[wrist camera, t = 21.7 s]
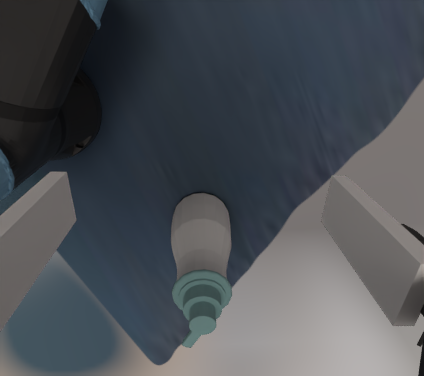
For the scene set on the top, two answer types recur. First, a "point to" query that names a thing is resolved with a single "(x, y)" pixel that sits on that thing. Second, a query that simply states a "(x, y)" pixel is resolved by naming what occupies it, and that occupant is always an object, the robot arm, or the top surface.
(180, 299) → the soap bottle
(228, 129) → the top surface
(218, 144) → the top surface
